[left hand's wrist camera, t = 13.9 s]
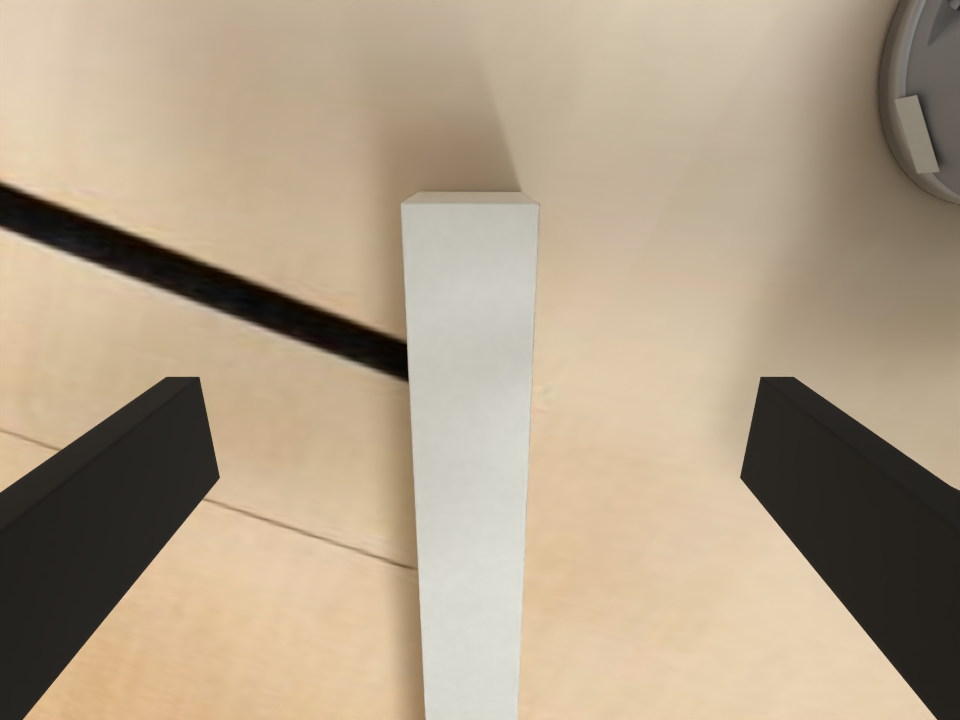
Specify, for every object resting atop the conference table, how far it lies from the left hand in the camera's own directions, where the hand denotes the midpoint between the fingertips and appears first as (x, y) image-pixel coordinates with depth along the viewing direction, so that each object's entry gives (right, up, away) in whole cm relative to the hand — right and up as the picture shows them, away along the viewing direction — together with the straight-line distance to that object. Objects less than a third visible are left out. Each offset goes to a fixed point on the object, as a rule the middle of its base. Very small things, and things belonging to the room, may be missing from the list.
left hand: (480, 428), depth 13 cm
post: (-1, -27, +30) cm, 40 cm away
